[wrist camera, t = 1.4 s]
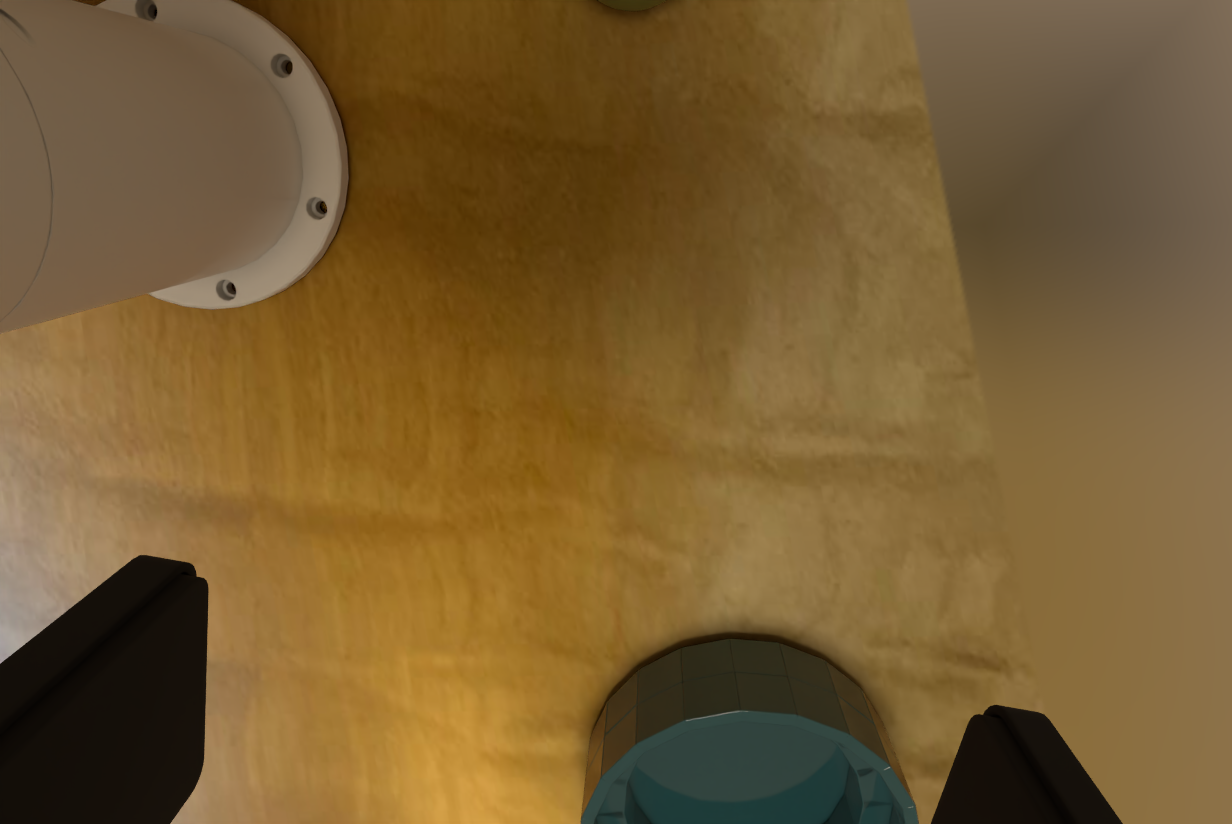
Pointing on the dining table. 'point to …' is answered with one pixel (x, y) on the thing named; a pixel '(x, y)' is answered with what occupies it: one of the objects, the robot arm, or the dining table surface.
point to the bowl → (742, 744)
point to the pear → (631, 4)
